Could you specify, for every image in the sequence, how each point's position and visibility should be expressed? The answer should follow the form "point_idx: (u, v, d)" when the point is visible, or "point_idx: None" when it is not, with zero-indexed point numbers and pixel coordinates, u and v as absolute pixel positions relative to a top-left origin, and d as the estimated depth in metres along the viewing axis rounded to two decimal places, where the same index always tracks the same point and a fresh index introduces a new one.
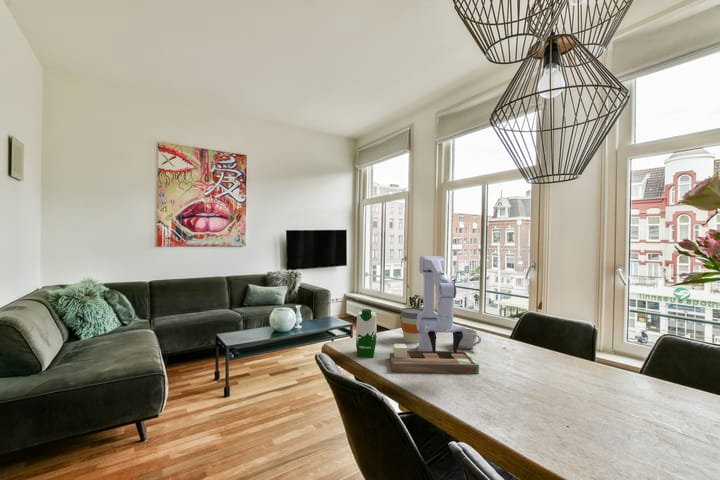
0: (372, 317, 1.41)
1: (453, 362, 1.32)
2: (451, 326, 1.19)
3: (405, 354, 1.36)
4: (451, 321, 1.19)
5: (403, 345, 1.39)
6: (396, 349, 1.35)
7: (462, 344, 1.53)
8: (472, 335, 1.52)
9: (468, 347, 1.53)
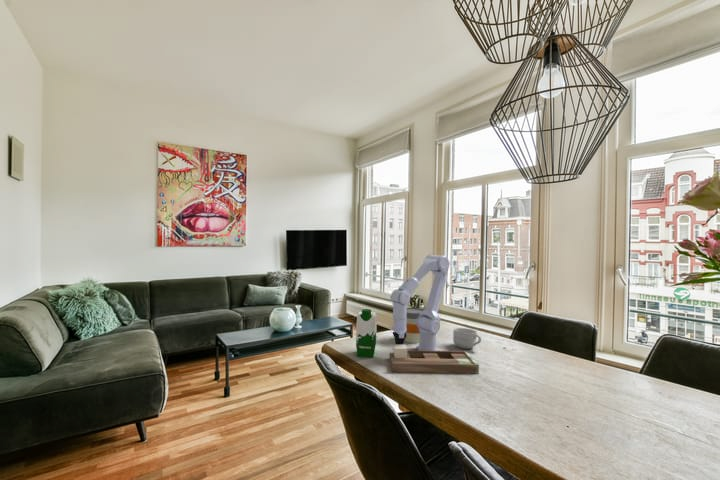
0: (372, 317, 1.41)
1: (453, 362, 1.32)
2: (395, 327, 1.39)
3: (405, 355, 1.35)
4: (394, 322, 1.39)
5: (403, 346, 1.38)
6: (396, 350, 1.35)
7: (462, 344, 1.53)
8: (472, 335, 1.52)
9: (468, 347, 1.53)
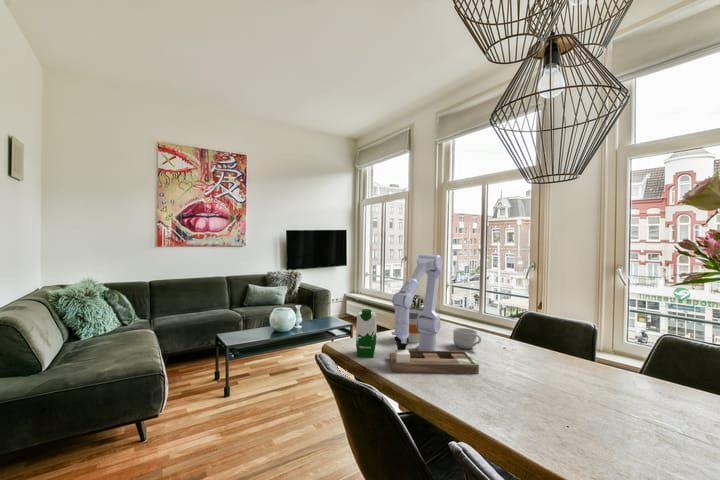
0: (372, 317, 1.41)
1: (453, 362, 1.32)
2: (396, 331, 1.33)
3: (408, 361, 1.29)
4: (396, 327, 1.33)
5: (406, 351, 1.32)
6: (398, 356, 1.28)
7: (462, 344, 1.53)
8: (472, 335, 1.52)
9: (468, 347, 1.53)
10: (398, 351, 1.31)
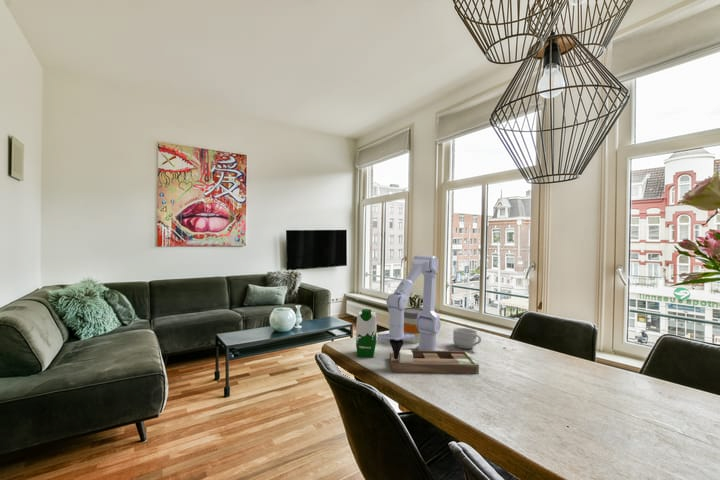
0: (372, 317, 1.41)
1: (453, 362, 1.32)
2: (401, 334, 1.29)
3: (411, 361, 1.29)
4: (401, 330, 1.29)
5: (409, 351, 1.32)
6: (401, 356, 1.28)
7: (462, 344, 1.53)
8: (472, 335, 1.52)
9: (468, 347, 1.53)
10: (401, 351, 1.31)
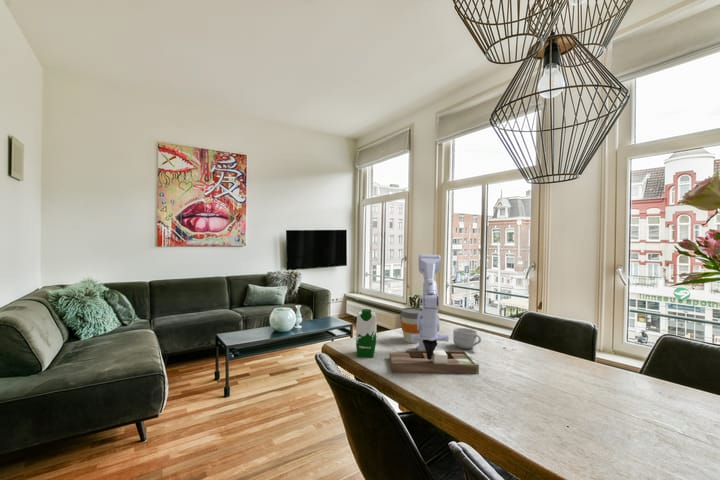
0: (372, 317, 1.41)
1: (453, 362, 1.32)
2: (435, 335, 1.29)
3: (445, 362, 1.28)
4: (435, 330, 1.29)
5: (442, 352, 1.31)
6: (436, 357, 1.28)
7: (462, 344, 1.53)
8: (472, 335, 1.52)
9: (468, 347, 1.53)
10: (435, 352, 1.31)
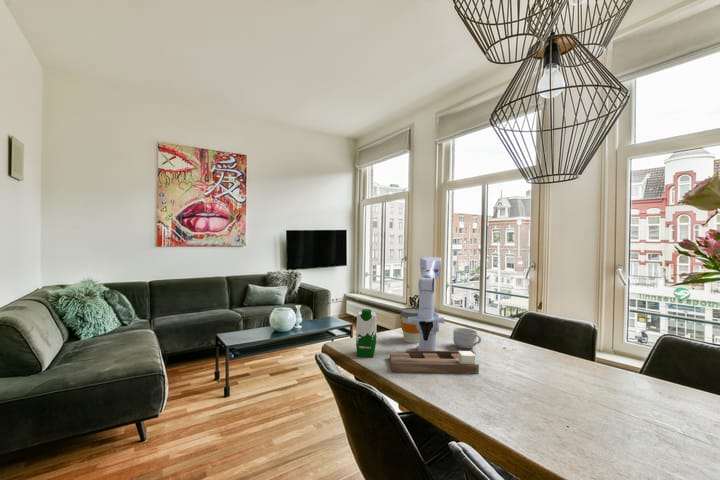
0: (372, 317, 1.41)
1: (453, 362, 1.32)
2: (431, 316, 1.33)
3: (473, 362, 1.28)
4: (431, 312, 1.33)
5: (469, 352, 1.31)
6: (463, 357, 1.28)
7: (462, 344, 1.53)
8: (472, 335, 1.52)
9: (468, 347, 1.53)
10: (462, 352, 1.31)
